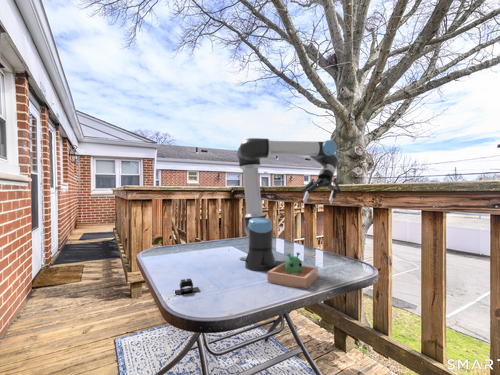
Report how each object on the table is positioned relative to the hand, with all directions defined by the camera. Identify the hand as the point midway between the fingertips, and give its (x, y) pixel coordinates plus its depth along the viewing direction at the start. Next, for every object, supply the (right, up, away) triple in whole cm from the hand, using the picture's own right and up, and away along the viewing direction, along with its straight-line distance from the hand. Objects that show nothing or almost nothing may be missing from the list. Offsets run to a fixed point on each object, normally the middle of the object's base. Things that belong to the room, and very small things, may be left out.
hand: (316, 202), depth 126 cm
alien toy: (-15, -30, -22) cm, 40 cm away
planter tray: (-16, -31, -22) cm, 41 cm away
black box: (-57, -31, -34) cm, 73 cm away
